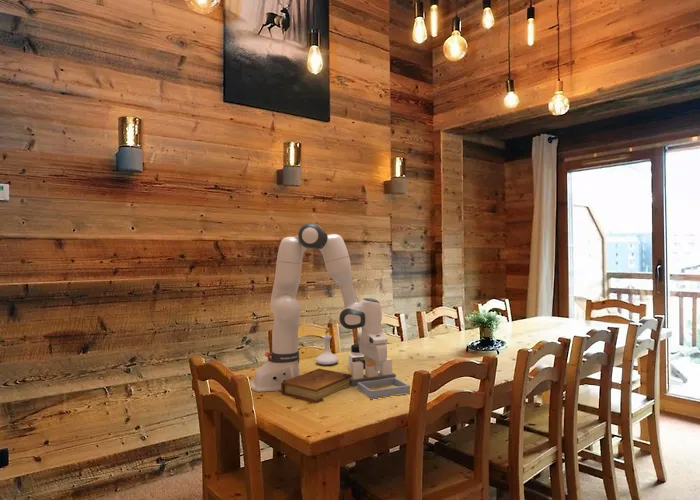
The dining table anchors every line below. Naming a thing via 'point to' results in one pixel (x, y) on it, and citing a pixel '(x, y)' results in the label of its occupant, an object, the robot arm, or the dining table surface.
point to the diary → (315, 385)
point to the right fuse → (386, 367)
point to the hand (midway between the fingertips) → (372, 367)
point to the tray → (383, 392)
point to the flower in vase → (327, 349)
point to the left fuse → (357, 370)
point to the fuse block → (370, 379)
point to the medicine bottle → (356, 355)
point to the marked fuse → (370, 368)
